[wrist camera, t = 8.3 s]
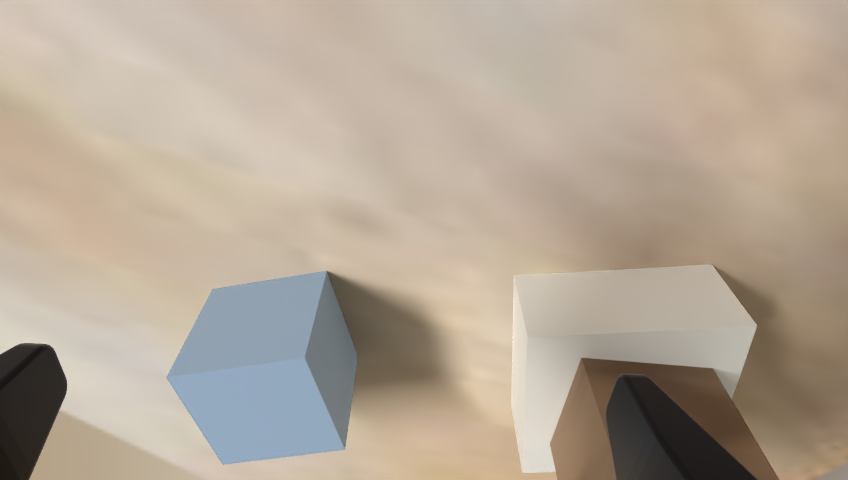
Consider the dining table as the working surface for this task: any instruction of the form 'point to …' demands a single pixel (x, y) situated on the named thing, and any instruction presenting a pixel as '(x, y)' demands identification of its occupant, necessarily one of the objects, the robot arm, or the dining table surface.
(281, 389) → the slate-blue cube
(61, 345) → the dining table surface
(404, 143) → the dining table surface
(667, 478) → the robot arm
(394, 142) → the dining table surface
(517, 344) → the pedestal block
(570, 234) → the dining table surface
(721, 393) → the walnut cube
